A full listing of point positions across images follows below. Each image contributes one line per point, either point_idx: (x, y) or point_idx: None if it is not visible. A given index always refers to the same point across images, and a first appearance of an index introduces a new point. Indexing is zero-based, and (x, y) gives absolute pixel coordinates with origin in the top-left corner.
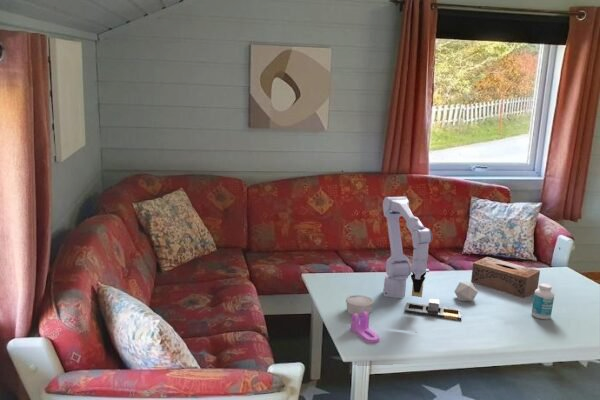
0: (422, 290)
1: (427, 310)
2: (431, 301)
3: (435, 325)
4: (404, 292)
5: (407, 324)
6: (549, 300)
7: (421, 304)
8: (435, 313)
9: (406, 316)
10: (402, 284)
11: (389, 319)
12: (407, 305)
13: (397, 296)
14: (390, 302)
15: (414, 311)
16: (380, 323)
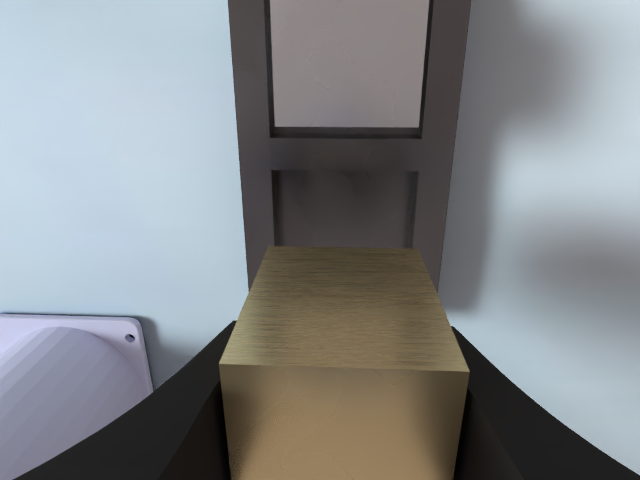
0: (344, 285)
1: None
2: (376, 88)
3: (629, 11)
4: (57, 359)
5: (632, 272)
6: None
7: (242, 189)
8: (449, 19)
9: (463, 288)
10: (34, 454)
11: (551, 396)
12: None
13: (129, 387)
14: None
15: (441, 246)
16: (634, 443)
